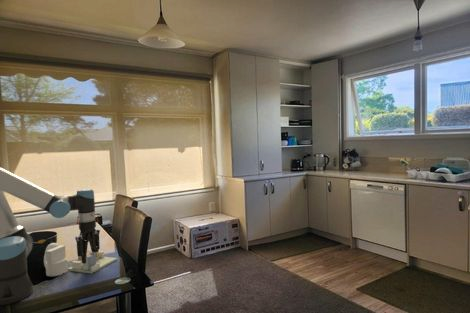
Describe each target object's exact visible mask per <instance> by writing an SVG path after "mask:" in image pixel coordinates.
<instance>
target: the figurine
mask: <svg viewBox="0 0 470 313" xmlns="http://www.w3.org/2000/svg"><path fill="white" fill-rule="evenodd" d="M57 246H60V245H59V244H58V243H57V242H51V243H49V244H48V245H47V246H46V248H45V251H44V256H43V265H44V268H45V269H46V251H47V250H50V249H52V248H55V247H57Z"/></svg>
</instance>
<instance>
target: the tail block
mask: <svg viewBox="0 0 470 313" xmlns="http://www.w3.org/2000/svg"><path fill="white" fill-rule="evenodd" d="M87 256H88V265H89V269H88V270H91V266H93V265H95V264H96V255H93V254H89V255H87Z"/></svg>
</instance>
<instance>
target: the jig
mask: <svg viewBox="0 0 470 313" xmlns="http://www.w3.org/2000/svg"><path fill="white" fill-rule="evenodd" d="M117 261H118V257H109V256H105V251H100V250H99V259H97V260H96V264H95V265H93V266H91V270H85V269H83V263H82V262H80V261H77V260H73V261H71V266H70V267H67V272H77V273H85V274H93V272H94V273H95V272H97V271H99V270H101V269H103V268H105V267H107V266H108V265H110V264H113V263H114V262H117Z"/></svg>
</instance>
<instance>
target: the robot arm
mask: <svg viewBox="0 0 470 313" xmlns="http://www.w3.org/2000/svg"><path fill="white" fill-rule="evenodd" d="M94 192H95V191H94V190H93V189H91V188H83V189H77V191H76V193H75V194H67V195H56V194H54V193H52V192H51V191H49V190H46V189H44V188H42V187H40V186H38V185H37V184H34V183H32V182H30V181H28V180H26V179H25V178H22V177H20V176H18V175H16V174H14V173H12V172H10V171H9V170H6V169H5V168H2V167H0V306H4V305H10V304H13V303H17V302H20V301H22V300H24V299H26V298H28V297H30V296H31V295H32V294H33V293H34V285H33V282H32V280H31V278H30V276H29V275H28V260H27V259H28V256H29V255H30V254H31V252H32V250H33V247H34V240H33V238H32V236H31V235H30V234H29V233H28V231H26V228H25V226H23V225H20V224H19V223H18V221H17V218H16V217H15V214H14V212H13V211H12V208H11V205H10V204H9V202H8V200H7V197H6V196H5V193H7V194H9V195H11V196H12V197H15V198H18V199H20V200H22V201H24V202H25V203H28V204H30V205H32V206H35V207H36V208H38V209H41V210H43V211H45V212H46V213H49V214H50V215H51V217H54V218H57V219H62V218H64V217H67V215H69V213H70V212H71V211H77V215H78V216H77V217H78V229H79V232H80V233H79V235H78V236H75V238H74V239H75V242H76V250H77V251H76V252H77V253H76V254H77V258H78V257H82V263H83V269H85V270H88V269H89V265H88V256H87V251H88V245H89V246H90V250H91V251H92V252H91V253H90V254H93V255H96V252H98V250H99V251H100V249H101V248H100V232H101V230H100V229H96V226H97V224H96V223H97V222H96V209H95V208H96V207H95V206H96V204H95V193H94ZM96 257H97V255H96Z"/></svg>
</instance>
